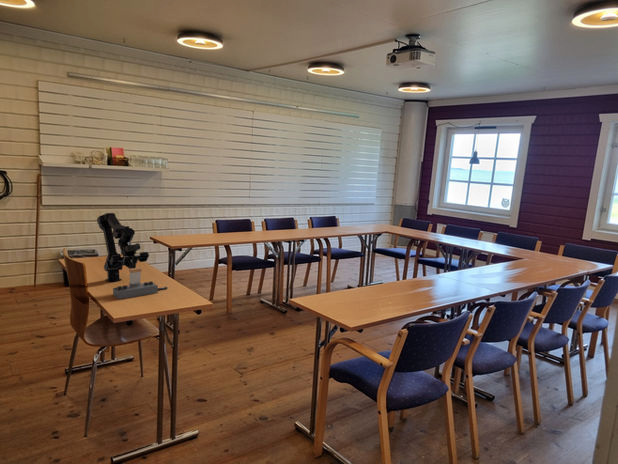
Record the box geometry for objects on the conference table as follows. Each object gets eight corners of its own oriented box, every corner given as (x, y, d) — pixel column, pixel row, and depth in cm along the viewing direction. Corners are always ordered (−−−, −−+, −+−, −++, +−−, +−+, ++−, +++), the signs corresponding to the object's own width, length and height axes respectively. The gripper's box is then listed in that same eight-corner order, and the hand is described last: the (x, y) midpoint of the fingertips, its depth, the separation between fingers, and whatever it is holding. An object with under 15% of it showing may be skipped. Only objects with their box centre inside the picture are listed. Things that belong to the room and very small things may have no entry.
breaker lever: (128, 285, 223) (129, 268, 221) (139, 284, 227) (139, 267, 224) (130, 287, 222) (130, 270, 219) (140, 285, 225) (141, 268, 223)
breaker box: (113, 295, 220) (112, 285, 219) (163, 287, 238) (163, 277, 238) (118, 299, 214) (118, 289, 213) (170, 290, 233) (170, 280, 232)
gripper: (111, 239, 218) (119, 265, 212) (147, 237, 231) (156, 260, 224) (106, 252, 225) (114, 277, 219) (141, 249, 238) (150, 272, 231)
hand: (134, 271), depth 223 cm, fingers closed, pressing on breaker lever
